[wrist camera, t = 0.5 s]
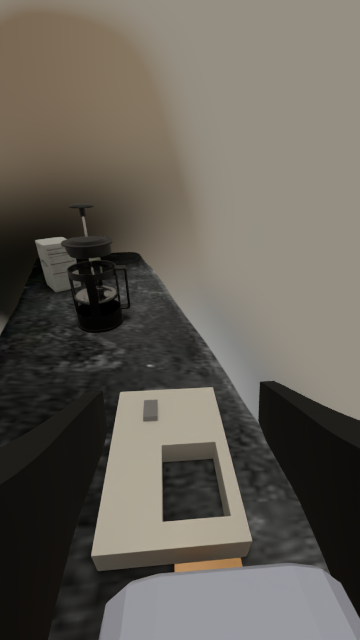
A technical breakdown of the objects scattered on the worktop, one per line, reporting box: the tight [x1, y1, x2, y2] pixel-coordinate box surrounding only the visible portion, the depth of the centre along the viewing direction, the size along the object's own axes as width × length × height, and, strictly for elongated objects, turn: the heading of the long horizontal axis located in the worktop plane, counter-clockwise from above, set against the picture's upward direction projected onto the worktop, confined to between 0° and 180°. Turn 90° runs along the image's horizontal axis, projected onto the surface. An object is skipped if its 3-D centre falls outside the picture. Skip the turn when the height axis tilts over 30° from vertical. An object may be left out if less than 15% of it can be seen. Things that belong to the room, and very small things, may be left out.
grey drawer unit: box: [35, 237, 81, 292], centre depth 68 cm, size 7×7×13 cm
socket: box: [91, 387, 252, 571], centre depth 26 cm, size 16×12×4 cm
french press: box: [61, 204, 130, 333], centre depth 48 cm, size 12×9×23 cm
